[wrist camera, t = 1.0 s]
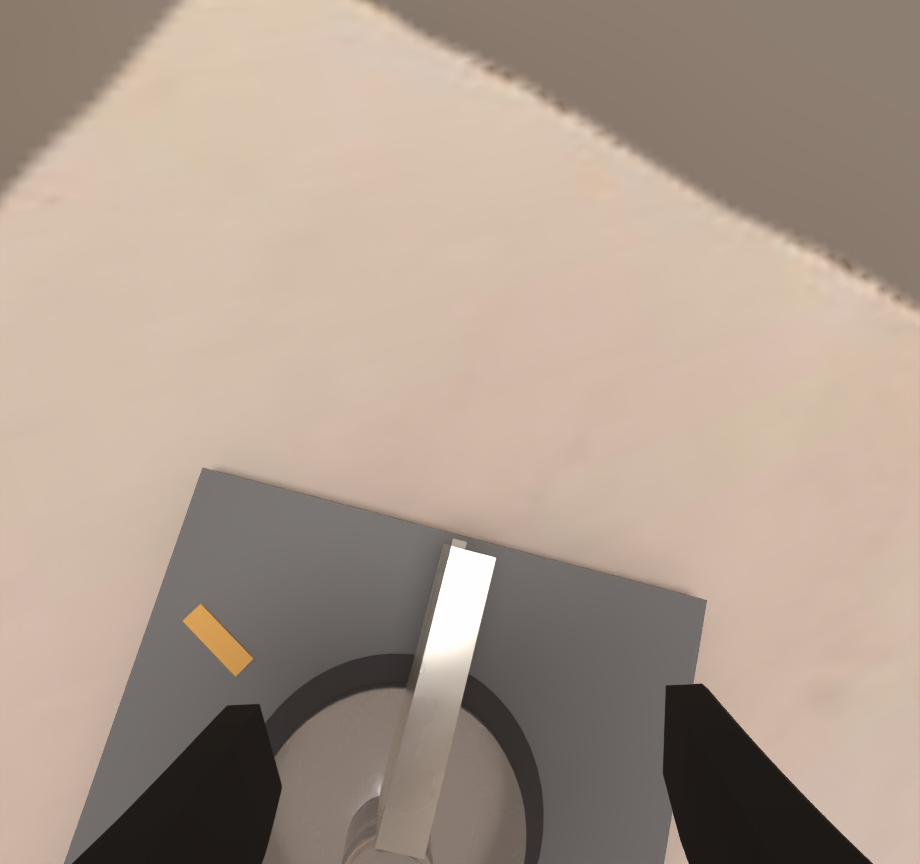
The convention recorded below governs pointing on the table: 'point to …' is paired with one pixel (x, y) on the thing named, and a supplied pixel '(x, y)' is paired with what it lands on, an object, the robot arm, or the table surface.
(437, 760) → the dial
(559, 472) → the table surface
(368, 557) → the dial plate
